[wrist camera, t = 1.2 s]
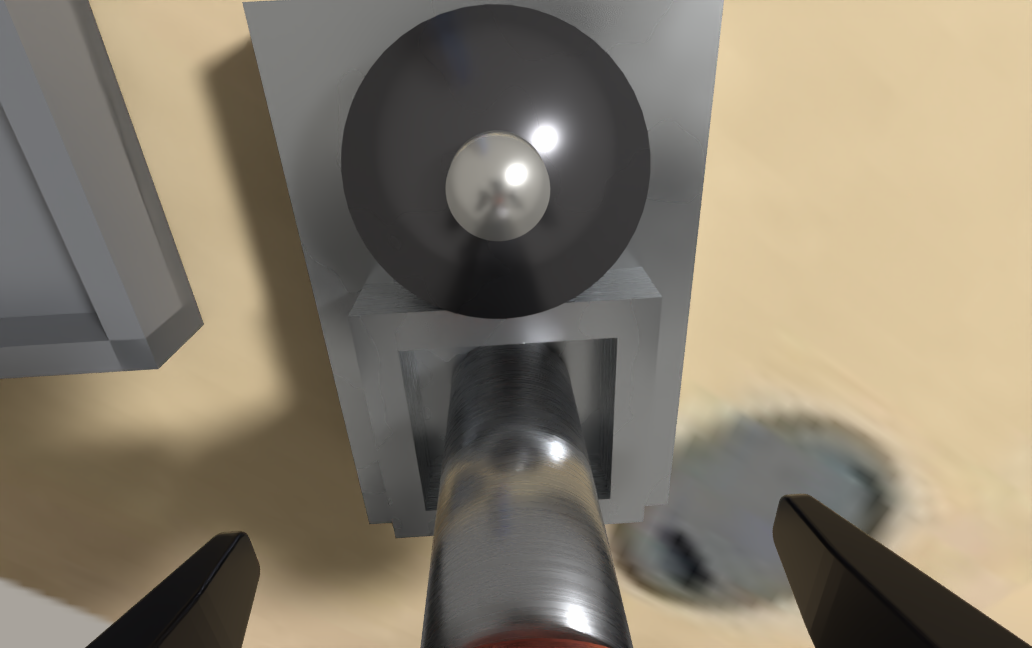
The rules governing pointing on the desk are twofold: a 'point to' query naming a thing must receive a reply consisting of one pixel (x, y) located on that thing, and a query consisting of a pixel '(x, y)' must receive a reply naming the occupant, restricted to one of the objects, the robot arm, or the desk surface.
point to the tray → (78, 209)
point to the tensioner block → (495, 214)
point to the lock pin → (519, 514)
